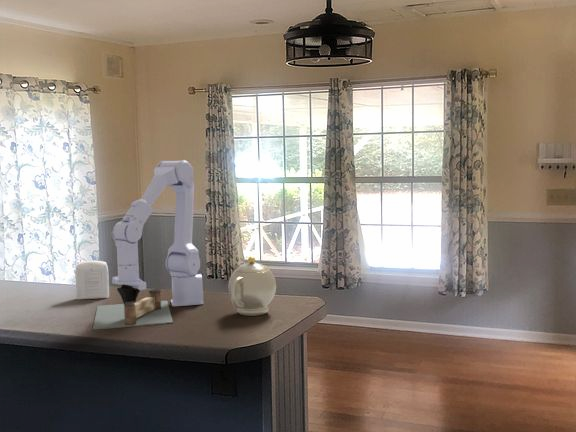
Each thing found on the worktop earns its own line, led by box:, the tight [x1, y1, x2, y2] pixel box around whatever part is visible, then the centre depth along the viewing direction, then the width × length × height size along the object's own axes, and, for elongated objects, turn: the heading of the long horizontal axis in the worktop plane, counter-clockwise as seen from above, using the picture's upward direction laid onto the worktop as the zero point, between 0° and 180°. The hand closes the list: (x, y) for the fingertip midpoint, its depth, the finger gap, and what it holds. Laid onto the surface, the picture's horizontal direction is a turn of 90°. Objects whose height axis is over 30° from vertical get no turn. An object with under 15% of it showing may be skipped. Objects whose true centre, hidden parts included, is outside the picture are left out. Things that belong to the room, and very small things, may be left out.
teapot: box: [228, 256, 277, 317], centre depth 185 cm, size 18×14×16 cm
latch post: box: [124, 302, 136, 325], centre depth 176 cm, size 3×3×6 cm
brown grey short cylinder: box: [148, 288, 162, 310], centre depth 193 cm, size 3×3×6 cm
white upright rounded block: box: [75, 259, 110, 300], centre depth 211 cm, size 10×4×12 cm, turn 103°
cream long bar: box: [134, 295, 155, 318], centre depth 184 cm, size 13×2×4 cm, turn 165°
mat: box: [92, 300, 174, 331], centre depth 188 cm, size 21×27×1 cm
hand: (130, 311), depth 183 cm, fingers closed
